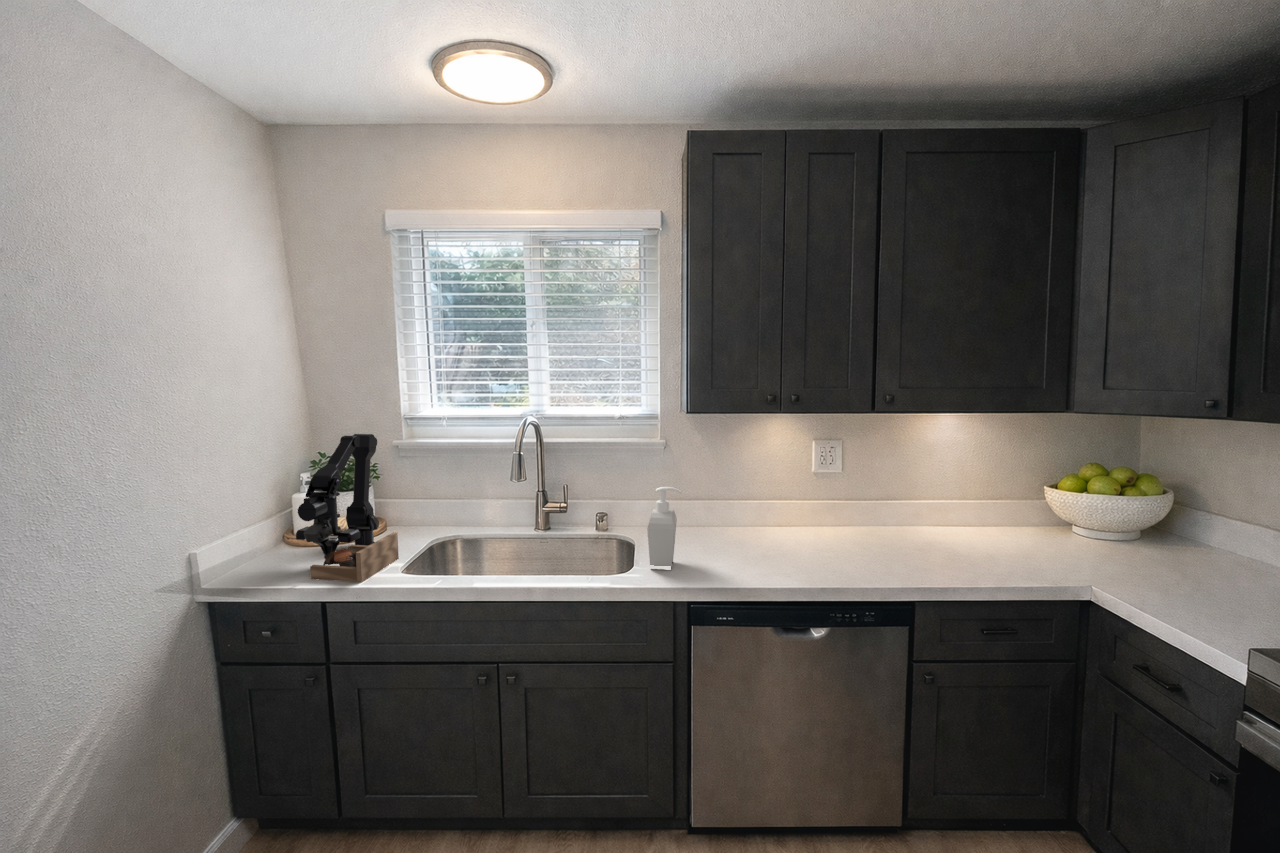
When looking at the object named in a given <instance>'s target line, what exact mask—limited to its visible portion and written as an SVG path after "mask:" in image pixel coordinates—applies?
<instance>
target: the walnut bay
mask: <svg viewBox="0 0 1280 853" xmlns="http://www.w3.org/2000/svg"><path fill="white" fill-rule="evenodd" d="M398 536H399V535H398V532H394V531H392V532H391V533H389V534H388V535H386V536H384V537H381V538H380V539H378V540H376V541H374V542H375V543H373V544H371V545H369V546H367V545H355V544H351V545H349V546H348V547H349V548H348V549H349V550H350V552H351V553H354V552H356V567H345V566H340V565H328V564H327V565H326V564H325V565H323V564H312V565H310V567H309V569H310V572H309V573H310V580H316V579H319V580H318V581H320V580H321V581H334V582H335V581H337V582H350V583H351V582H352V583H353V582H354V583H363V582H365V581H366V580H368V579H369V578H371V577H373V576H374V575H376V574H377V573H379V572H380V571H382V570H384V569H386V568H387V567H388V566H390V565H392V564H393V563H394V561H395V560H396V561H398V560H399V557H400V556H399V539H398V538H399V537H398ZM357 551H358V552H357ZM351 559H352V556H351ZM397 559H398V560H397ZM396 561H395V562H396ZM392 562H393V563H392ZM389 564H390V565H389ZM386 566H387V567H386ZM383 568H384V569H383Z"/></svg>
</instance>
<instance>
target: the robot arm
mask: <svg viewBox="0 0 1280 853" xmlns="http://www.w3.org/2000/svg"><path fill="white" fill-rule="evenodd" d="M377 446H378V439H377V437H376V436H375V435H374V434H373V433H354V434H353V435H342V436H341V437H340V440H339V443H338V445H337V447H336V449H335V450H334V452H333V454H332V455H331V457H330V458H329V460H328V461H327V463H326V464H325V465H324V466H322V467H320V468H318V469H317V471H315V473H314V474H313V476H312V477H311V479H310V482H309V484H308V487H307V491H306V492H305V493H306V494H305V498H303V502H302V503H301V504H300V505H299V506H298V509H297V515H298V517H299V519H301V520H302V521H304V522H311V521H313V524H312V525H310V526H305V527H303V528H302V527H301V528H300V529H297V531H296V532H295V541H296V540H297V541H298V540H299V541H306V543H314V544H316V545H318V546H319V547H320V548H321V551H322V553H323V555H324V556H325V555H327V554H329V553H331V552H334V551H337V548H338V546H339V544H340V543H344V544H345V543H346V544H348V543H352V542H354V545H367V546H369V545H371V544H373V543H375V542H376V541H375V540H374V531H376V530H378V528H379V526H380V521H379V519H378V518H377V517H376V516H375V515H374V514H375V513H374V507H373V506H372V504H371V502H370V500H369V499H370V497H369V496H370V481H371V480H370V474H371V470H370V469H371V459H372V458H373V457H374V455H375V453H376V451H377ZM351 456H352V458H354V469H353V470H354V472H353V473H354V476H353V493H352V494H353V499H352V502H351V504H350V505H349V506H347V507H346V509H345V510H346V516H345V522H346V525H347V529H344V530H343V531H341V527H342V526H339V523H338V522H339V521H338V518H341V514H340V513H338V500H337V497H339V496H340V495H341V494H340V492H339V491H338V489H339V488H340V485H341V483H342V480H343V479H342V472H343V470H344V468H345V466H347V464H348V462H349V460H350V458H351Z"/></svg>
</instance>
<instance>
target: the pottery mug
mask: <svg viewBox="0 0 1280 853" xmlns="http://www.w3.org/2000/svg"><path fill="white" fill-rule="evenodd" d="M357 552H358V551H357ZM351 556H352V558H351ZM322 565H328V566H332V565H338V566H345V567H356V552H354V553H351V552H350V550H349V548H342V549H338V550H337V549H336V550H335V551H334V552H331V553H329V554H327V555H324V561H323V564H322Z"/></svg>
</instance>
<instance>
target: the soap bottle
mask: <svg viewBox="0 0 1280 853" xmlns="http://www.w3.org/2000/svg"><path fill="white" fill-rule="evenodd" d="M667 491H673V492H674V491H675V492H677V493H680V494H681V493H682V490H681V489H678V488H676V487H673V486H660V487H657V488H656V489H655V493H658V492H659V499H658V500H656V502H655V505H656V506H655V508H653V509H652V512H651V514H650V517H649V521H648V524H647V528H646V529H647V541H648V555H649V556H648V557H649V566H650V565H654V566H672V567H673V565H672V562H673V563H674V555H675V543H676V534H677V533H676V531H677V523H678V522H677V515H676V512H675V510H674V509H670V501H669V500H667Z"/></svg>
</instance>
